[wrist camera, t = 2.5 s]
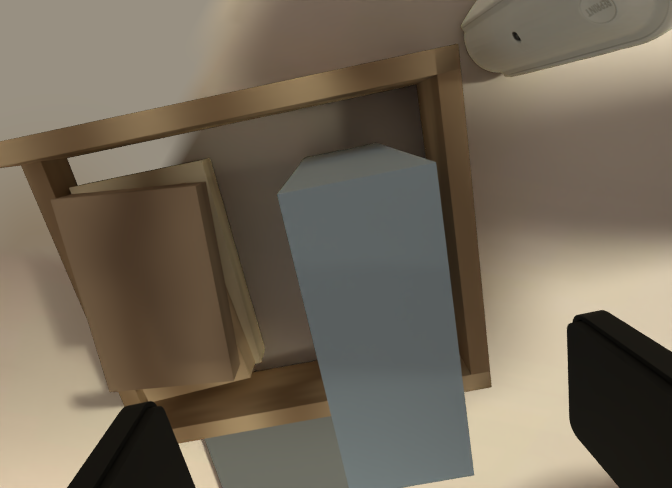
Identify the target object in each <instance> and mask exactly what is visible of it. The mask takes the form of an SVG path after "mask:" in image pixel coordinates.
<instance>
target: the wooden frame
mask: <svg viewBox="0 0 672 488" xmlns="http://www.w3.org/2000/svg"><path fill="white" fill-rule="evenodd" d="M412 85H417V93H418V101H419V108H420V116H421V124H422V132H423V139H424V147H425V155H426V159H428V160H431V161H434V162H436V166H437V174H438V182H439V190H440V198H441V207H442V215H443V223H444V231H445V240H446V248H447V256H448V264H449V273H450V281H451V289H452V297H453V305H454V314H455V322H456V330H457V338H458V347H459V355H460V363H461V371H462V379H463V388H464V392H467V391H473V390H478V389H484V388H490V387H492V386H491V376H490V366H489V355H488V345H487V335H486V324H485V314H484V304H483V293H482V283H481V273H480V262H479V252H478V242H477V231H476V221H475V211H474V200H473V190H472V179H471V169H470V159H469V148H468V138H467V128H466V117H465V107H464V97H463V86H462V76H461V66H460V55H459V45H458V44H454V45H449V46H444V47H440V48H435V49H430V50H426V51H421V52H416V53H412V54H407V55H402V56H398V57H393V58H388V59H384V60H379V61H374V62H370V63H365V64H360V65H356V66H351V67H346V68H342V69H337V70H332V71H327V72H323V73H318V74H313V75H309V76H304V77H299V78H295V79H290V80H285V81H281V82H276V83H271V84H267V85H262V86H257V87H253V88H248V89H243V90H239V91H234V92H229V93H225V94H220V95H215V96H211V97H206V98H201V99H197V100H192V101H187V102H183V103H178V104H173V105H168V106H164V107H160V108H154V109H150V110H146V111H141V112H136V113H131V114H126V115H122V116H117V117H112V118H108V119H103V120H99V121H94V122H89V123H85V124H80V125H75V126H71V127H66V128H61V129H56V130H52V131H47V132H42V133H38V134H33V135H29V136H24V137H19V138H14V139H10V140H5V141H1V142H0V168H4V167H12V166H20V165H21V166H22V169H23V171H24V173H25V176H26V178H27V180H28V182H29V185H30V187H31V190H32V192H33V194H34V197H35V199H36V201H37V204H38V206H39V208H40V210H41V213H42V215H43V218H44V220H45V222H46V225H47V227H48V229H49V232H50V234H51V236H52V239H53V241H54V243H55V246H56V248H57V250H58V253H59V255H60V257H61V260H62V262H63V264H64V267H65V269H66V271H67V274H68V276H69V278H70V280H71V283H72V285H73V287H74V290H75V292H76V294H77V297H78V299H79V301H80V304H81V306H82V308H83V311H84V313H85V310H84V307H83V304H82V301H81V297H80V294H79V291H78V288H77V284H76V281H75V278H74V275H73V271H72V268H71V265H70V262H69V258H68V255H67V252H66V249H65V246H64V242H63V239H62V236H61V233H60V229H59V226H58V223H57V220H56V216H55V213H54V210H53V207H52V203H51V200H52V199H56V198H59V197H63V196H67V195H71V192H70V189H69V188H70V187H74V186H78V185H77V183H76V180H75V178H74V175H73V172H72V170H71V167H70V165H69V162H68V160H67V158H70V157H74V156H79V155H84V154H89V153H94V152H98V151H103V150H108V149H113V148H117V147H122V146H126V145H131V144H136V143H141V142H146V141H150V140H155V139H160V138H165V137H170V136H174V135H179V134H184V133H189V132H193V131H198V130H203V129H207V128H212V127H217V126H222V125H226V124H231V123H236V122H241V121H245V120H250V119H255V118H260V117H264V116H269V115H274V114H279V113H283V112H288V111H293V110H298V109H302V108H307V107H312V106H317V105H321V104H326V103H331V102H336V101H340V100H345V99H350V98H355V97H359V96H364V95H369V94H374V93H378V92H383V91H388V90H393V89H397V88H402V87H407V86H412ZM85 315H86V314H85ZM86 318H87V317H86ZM118 392H119V395H120V397H121V399H122V401H123V404H124V406H128V405H133V404H138V403H143V402H148V399H147V397H146V395H145V393H144V391H143V389H140V390H129V391H118ZM154 403H155V404H156V405H157V406H162V407H163V408H164V410H165V412H166V414H167V417H168V419H169V422H170V424H171V427H172V430H173V432H174V435H175V437H176V440H177V442H178V443H183V442H189V441H195V440H200V439H206V438H211V437H217V436H222V435H228V434H234V433H239V432H245V431H250V430H256V429H261V428H267V427H273V426H278V425H284V424H289V423H295V422H300V421H306V420H312V419H317V418H323V417H328V416H331V413H330V409H329V405H328V401H327V397H326V392H325V388H324V384H323V380H322V376H321V372H320V368H319V364H318V360H317V361H311V362H306V363H301V364H295V365H290V366H284V367H279V368H274V369H268V370H263V371H257V372H252V374H251V378H247V379H243V380H239V381H235V382H231V383H227V384H223V385H219V386H215V387H211V388H207V389H203V390H199V391H195V392H191V393H187V394H183V395H179V396H175V397H171V398H167V399H163V400H159V401H155V402H154Z"/></svg>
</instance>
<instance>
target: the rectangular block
mask: <svg viewBox="0 0 672 488" xmlns="http://www.w3.org/2000/svg"><path fill="white" fill-rule="evenodd" d="M277 197H278V201H279V205H280V209H281V213H282V217H283V221H284V225H285V229H286V233H287V238H288V242H289V246H290V250H291V254H292V258H293V262H294V266H295V270H296V274H297V278H298V282H299V286H300V291H301V295H302V299H303V303H304V307H305V311H306V315H307V319H308V323H309V327H310V331H311V335H312V339H313V344H314V348H315V352H316V356H317V360H318V364H319V368H320V372H321V376H322V380H323V384H324V388H325V392H326V397H327V401H328V405H329V409H330V413H331V417H332V421H333V425H334V429H335V433H336V437H337V441H338V445H339V450H340V454H341V458H342V462H343V466H344V470H345V474H346V478H347V482H348V486H349V488H403V487H408V486H414V485H420V484H426V483H432V482H437V481H443V480H449V479H455V478H461V477H467V476H472V475H474V470H473V462H472V454H471V445H470V437H469V429H468V421H467V412H466V404H465V396H464V388H463V379H462V371H461V363H460V355H459V347H458V338H457V330H456V322H455V314H454V305H453V297H452V289H451V281H450V273H449V264H448V256H447V248H446V240H445V231H444V223H443V215H442V207H441V198H440V190H439V182H438V174H437V166H436V162H434V161H431V160H428V159H425V158H422V157H418V156H415V155H412V154H409V153H406V152H403V151H400V150H397V149H394V148H391V147H388V146H385V145H381V144H378V143H374V144H369V145H365V146H360V147H355V148H350V149H345V150H340V151H335V152H331V153H326V154H321V155H316V156H311V157H306V158H304V159H303V161H302V162H301V163H300V165H299V166H298V167H297V169H296V170H295V171H294V173H293V174H292V175H291V176H290V178H289V179H288V180H287V182H286V183H285V184H284V186H283V187H282V188H281V190H280V191H279V192H278V194H277Z"/></svg>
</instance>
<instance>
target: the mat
mask: <svg viewBox="0 0 672 488" xmlns="http://www.w3.org/2000/svg"><path fill="white" fill-rule="evenodd" d="M205 442H206V445H207V447H208V450H209V453H210V455H211V458H212V461H213V464H214V466H215V469H216V472H217V474H218V477H219V480H220V483H221V485H222V488H349V486H348V482H347V478H346V474H345V470H344V466H343V462H342V458H341V454H340V450H339V445H338V441H337V437H336V433H335V429H334V425H333V421H332V417H331V416H328V417H323V418H317V419H312V420H306V421H300V422H295V423H289V424H284V425H278V426H273V427H267V428H261V429H256V430H250V431H245V432H239V433H234V434H228V435H222V436H217V437H211V438H206V439H205Z"/></svg>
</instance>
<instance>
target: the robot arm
mask: <svg viewBox="0 0 672 488" xmlns="http://www.w3.org/2000/svg"><path fill="white" fill-rule="evenodd" d="M567 349H568V385H569V419H570V424H571V427H572V430H573V432H574V433H575V435H576V436H577V438H578V439H579V440H580V441H581V443H582V444H583V445H584V446H585V447H586V449H587V450H588V451H589V452H590V453H591V455H592V456H593V457H594V458H595V459H596V460H597V462H598V463H599V464H600V465H601V466H602V468H603V469H604V470H605V471H606V472H607V473H608V475H609V476H610V477H611V478H612V479H613V481H614V482H615V483H616V484H617V485H618V487H619V488H672V352H671V351H669V350H668V349H666V348H665V347H663V346H661V345H660V344H658V343H657V342H655V341H653V340H652V339H650V338H649V337H647V336H645V335H644V334H642V333H641V332H639V331H637V330H636V329H634V328H633V327H631V326H630V325H628V324H626V323H625V322H623V321H622V320H620V319H618V318H617V317H615V316H614V315H612V314H610V313H609V312H607V311H604V310H600V311H595V312H590V313H585V314H580V315H576V316H575V317H574V319H573V323H570V324H568V327H567ZM67 488H195V485H194V483H193V480H192V478H191V475H190V473H189V470H188V467H187V465H186V462H185V460H184V457H183V455H182V452H181V450H180V447H179V445H178V442H177V440H176V437H175V435H174V432H173V430H172V427H171V424H170V422H169V419H168V417H167V414H166V412H165V410H164V408H163V407H162V406H157V405H156V404H155V403H154V402H152V401H148V402H143V403H138V404H133V405H128V406H125V407H124V408H123V409H122V410H121V411H120V413H119V414H118V415H117V417H116V418H115V420H114V421H113V423H112V424H111V425H110V427H109V428H108V430H107V431H106V433H105V434H104V435H103V437H102V438H101V440H100V441H99V443H98V444H97V446H96V447H95V448H94V450H93V451H92V453H91V454H90V456H89V457H88V458H87V460H86V461H85V463H84V464H83V466H82V467H81V469H80V470H79V471H78V473H77V474H76V476H75V477H74V479H73V480H72V481H71V483H70V484H69V486H68V487H67Z"/></svg>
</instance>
